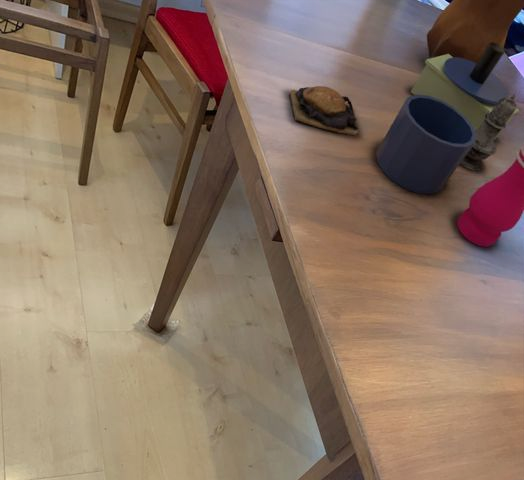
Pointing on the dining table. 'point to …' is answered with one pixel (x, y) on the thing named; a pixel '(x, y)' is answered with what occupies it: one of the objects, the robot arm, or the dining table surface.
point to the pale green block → (451, 92)
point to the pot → (425, 144)
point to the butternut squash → (471, 27)
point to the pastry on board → (324, 109)
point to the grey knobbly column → (489, 133)
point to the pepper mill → (495, 206)
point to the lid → (478, 75)
